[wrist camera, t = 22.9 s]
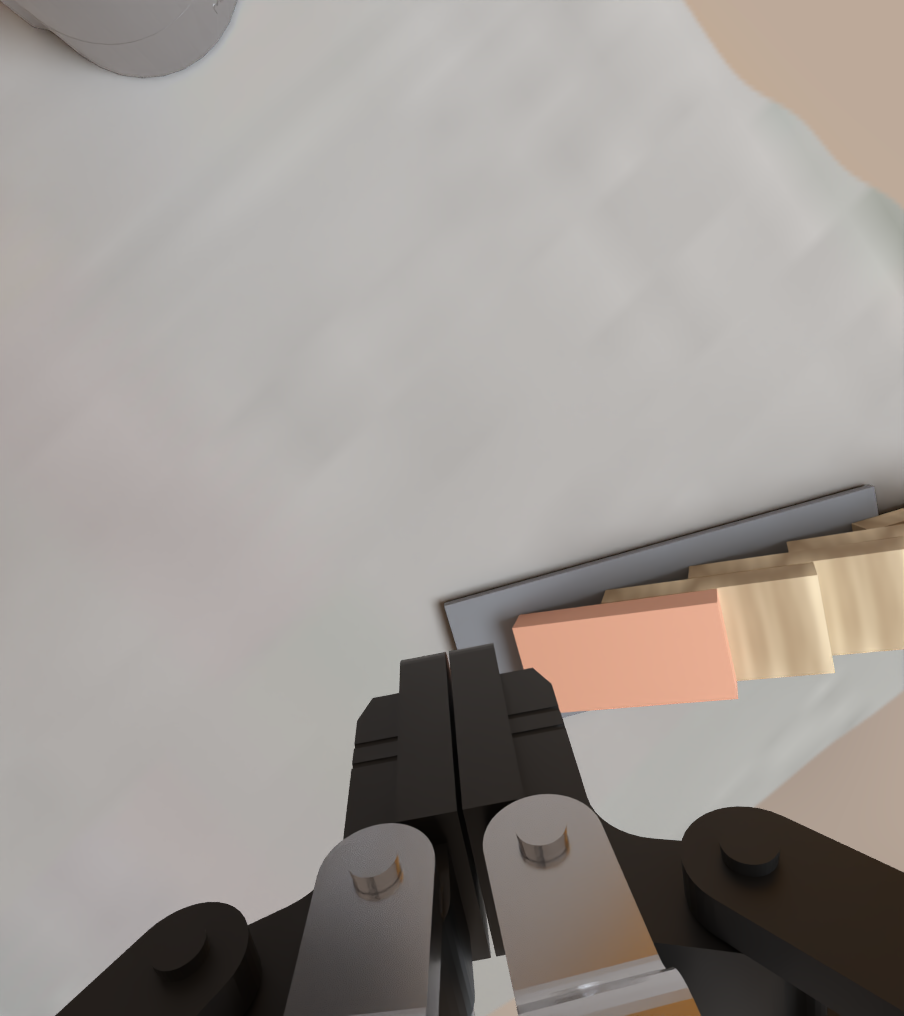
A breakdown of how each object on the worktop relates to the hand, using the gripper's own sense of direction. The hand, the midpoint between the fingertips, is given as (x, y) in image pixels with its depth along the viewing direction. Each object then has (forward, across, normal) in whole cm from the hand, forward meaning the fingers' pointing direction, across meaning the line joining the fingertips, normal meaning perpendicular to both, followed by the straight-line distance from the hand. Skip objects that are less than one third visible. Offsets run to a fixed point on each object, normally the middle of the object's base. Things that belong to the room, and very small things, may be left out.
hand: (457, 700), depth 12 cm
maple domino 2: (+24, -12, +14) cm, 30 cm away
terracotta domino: (+24, -2, +15) cm, 28 cm away
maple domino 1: (+24, -7, +14) cm, 29 cm away
